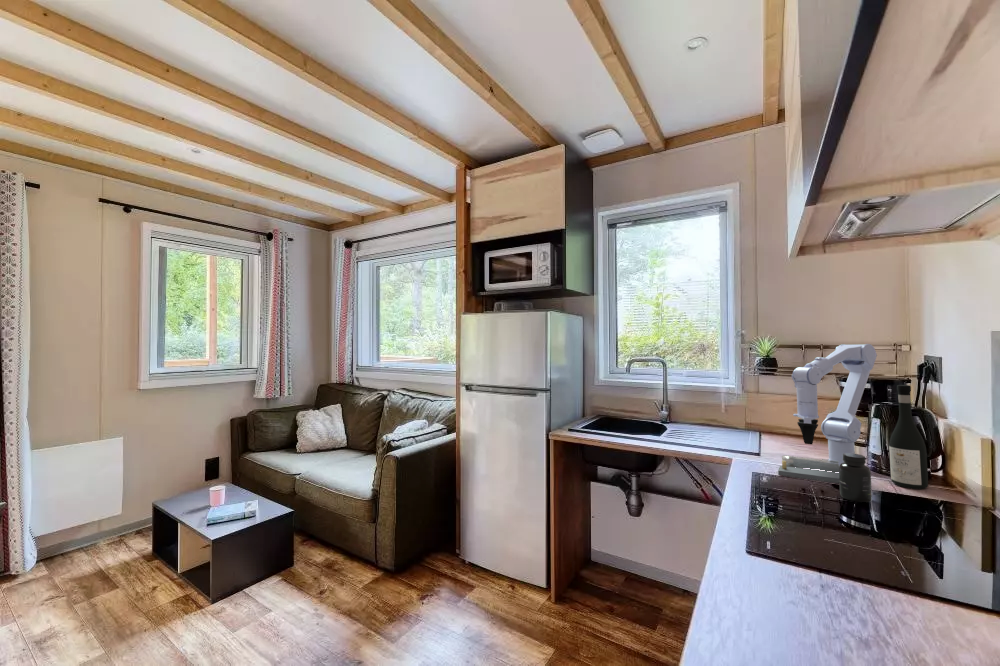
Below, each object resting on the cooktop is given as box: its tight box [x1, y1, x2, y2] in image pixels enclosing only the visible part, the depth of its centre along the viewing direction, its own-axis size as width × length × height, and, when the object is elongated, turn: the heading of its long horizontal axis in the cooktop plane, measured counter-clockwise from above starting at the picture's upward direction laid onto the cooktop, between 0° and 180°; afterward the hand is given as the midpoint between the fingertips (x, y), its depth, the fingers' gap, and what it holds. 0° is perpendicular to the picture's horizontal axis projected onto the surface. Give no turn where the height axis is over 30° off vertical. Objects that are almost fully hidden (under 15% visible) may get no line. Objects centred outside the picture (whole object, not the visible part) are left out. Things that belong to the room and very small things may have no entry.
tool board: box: [777, 460, 839, 484], centre depth 136 cm, size 7×22×4 cm, turn 52°
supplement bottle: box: [838, 453, 873, 503], centre depth 118 cm, size 7×7×12 cm
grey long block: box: [781, 455, 839, 472], centre depth 145 cm, size 5×16×4 cm, turn 53°
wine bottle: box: [888, 384, 929, 490], centre depth 127 cm, size 8×8×30 cm
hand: (808, 442), depth 145 cm, fingers open, 7 cm apart
